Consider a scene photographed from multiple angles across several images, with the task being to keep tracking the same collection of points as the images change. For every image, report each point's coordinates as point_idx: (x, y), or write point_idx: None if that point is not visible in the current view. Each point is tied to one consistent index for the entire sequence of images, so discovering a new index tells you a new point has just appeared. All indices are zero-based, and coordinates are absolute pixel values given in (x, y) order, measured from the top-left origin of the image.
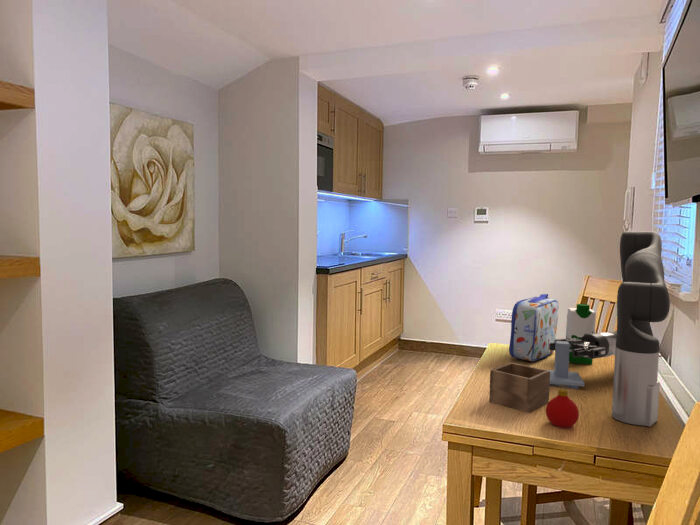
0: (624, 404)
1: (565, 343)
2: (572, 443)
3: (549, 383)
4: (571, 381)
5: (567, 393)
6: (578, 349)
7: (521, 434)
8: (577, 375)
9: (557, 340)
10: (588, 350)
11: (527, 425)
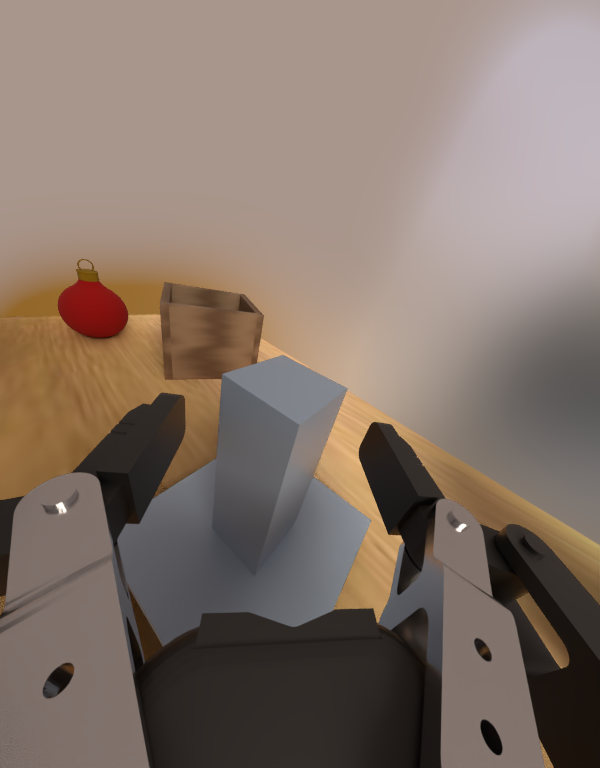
0: None
1: (256, 373)
2: None
3: (162, 334)
4: (170, 494)
5: (77, 273)
6: (142, 417)
7: (145, 316)
8: None
9: (508, 538)
10: (10, 530)
11: (152, 327)
